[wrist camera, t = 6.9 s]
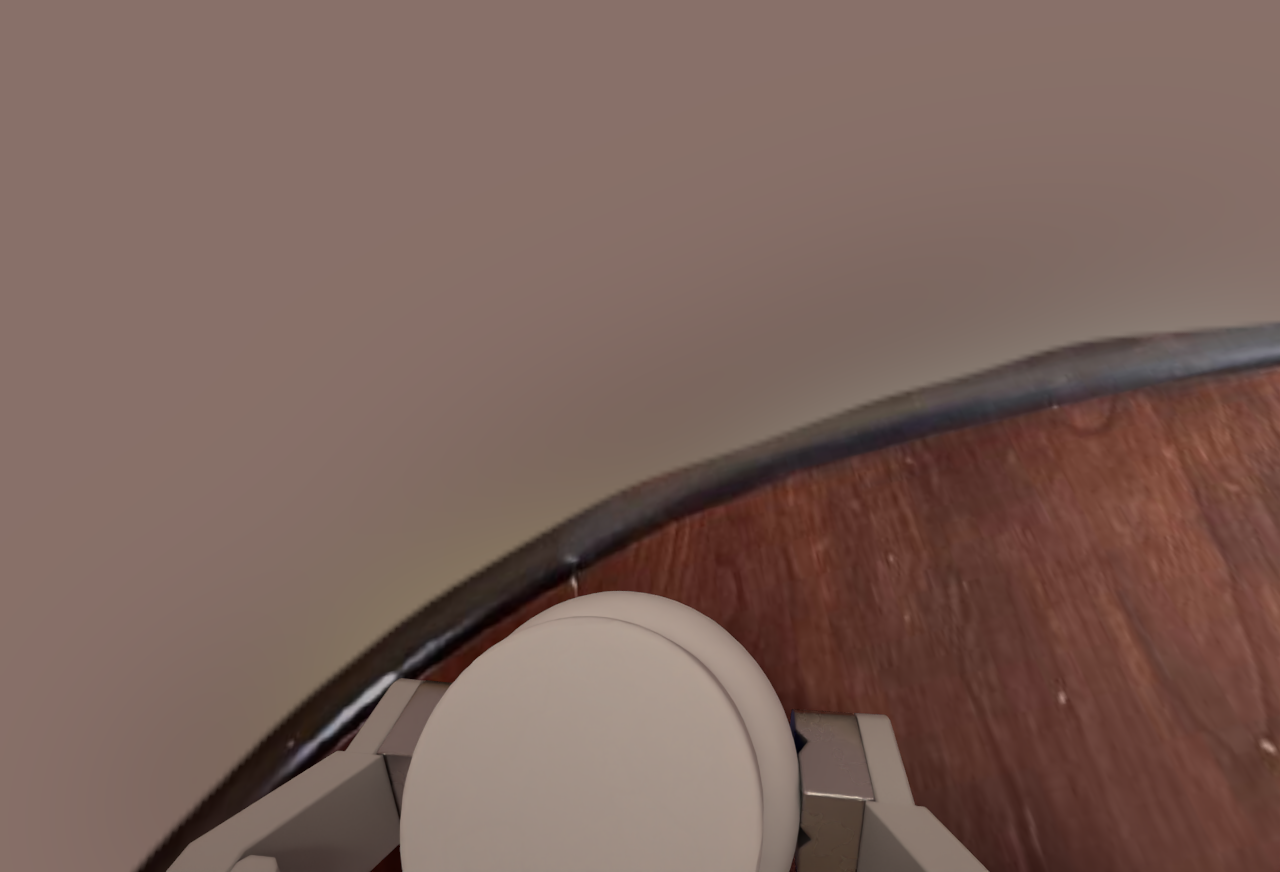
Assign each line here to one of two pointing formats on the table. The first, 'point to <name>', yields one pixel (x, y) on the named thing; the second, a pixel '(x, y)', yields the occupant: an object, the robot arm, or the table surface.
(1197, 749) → the table surface
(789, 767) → the pill bottle
